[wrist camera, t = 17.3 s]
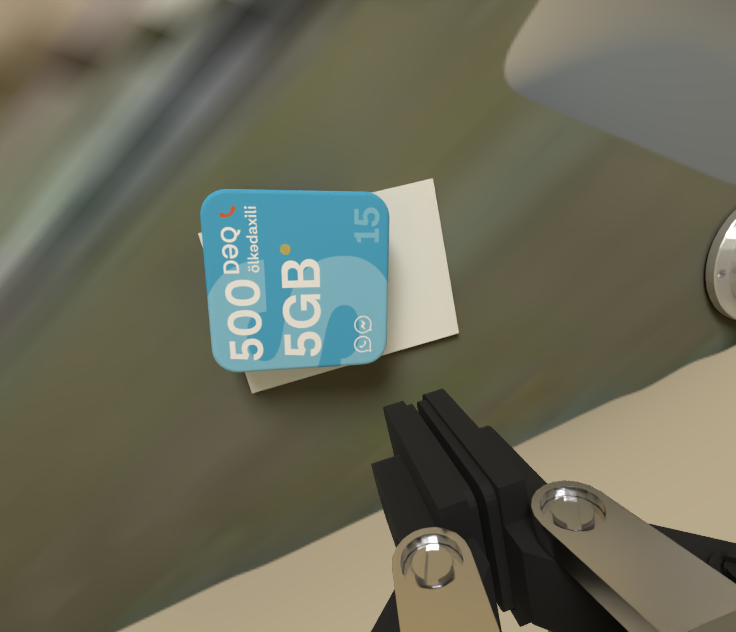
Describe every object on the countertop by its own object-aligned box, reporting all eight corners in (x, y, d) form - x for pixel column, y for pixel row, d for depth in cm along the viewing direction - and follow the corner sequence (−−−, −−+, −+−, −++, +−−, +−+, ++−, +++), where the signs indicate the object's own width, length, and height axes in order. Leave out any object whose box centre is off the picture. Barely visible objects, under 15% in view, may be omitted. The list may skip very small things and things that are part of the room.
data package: (387, 363, 30) (213, 375, 28) (373, 344, 34) (222, 353, 32) (390, 192, 27) (196, 188, 25) (375, 194, 31) (209, 191, 29)
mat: (430, 179, 32) (432, 178, 32) (456, 331, 36) (458, 333, 36) (199, 233, 30) (198, 233, 29) (252, 390, 34) (252, 393, 33)
